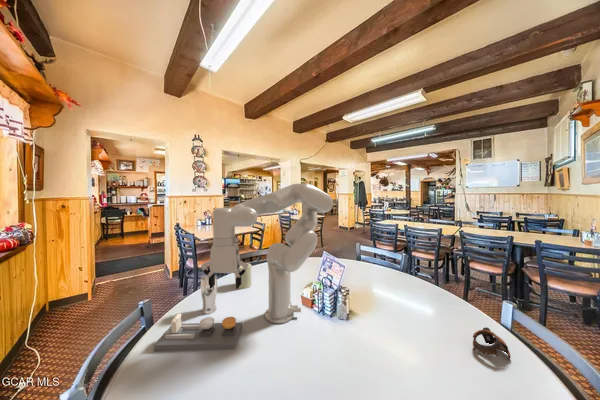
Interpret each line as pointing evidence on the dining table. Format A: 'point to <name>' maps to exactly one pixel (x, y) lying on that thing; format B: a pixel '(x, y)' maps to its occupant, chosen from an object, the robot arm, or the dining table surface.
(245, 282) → the can
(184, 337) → the panel
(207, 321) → the white rounded thick disc
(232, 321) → the orange button
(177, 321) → the lever
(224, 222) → the robot arm
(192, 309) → the dining table surface
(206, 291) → the tall white cup
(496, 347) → the brown looped piece
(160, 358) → the dining table surface
